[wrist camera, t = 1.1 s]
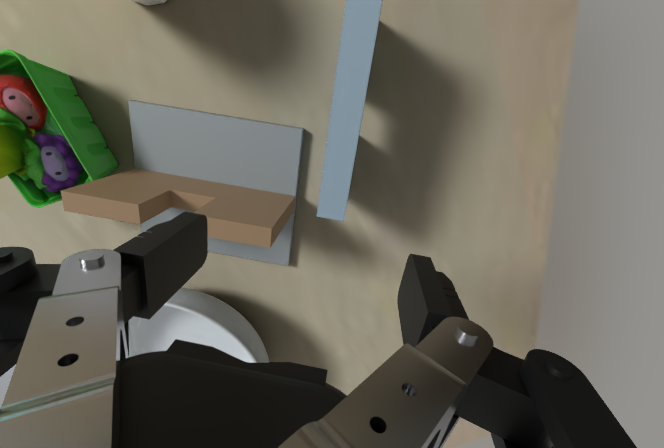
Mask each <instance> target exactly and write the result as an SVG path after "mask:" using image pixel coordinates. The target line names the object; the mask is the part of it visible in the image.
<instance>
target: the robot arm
mask: <svg viewBox="0 0 664 448" xmlns="http://www.w3.org/2000/svg"><path fill="white" fill-rule="evenodd" d="M207 252H208V223H207V217H206V216H205V215H202V214H197V213H192V212H186V211H185V212H183V213H181V214H180V215H178V216H176V217H175V218H173V219H172V220H170V221H166V222H163V223H160V224H156V225H154V226H153V227H151V228H149V229H148V230H146V232H143V233H141V234H139V235H138V237H134V238H133V239H131V240H129V241H128V242H126V243H124V244H123V245H121V246H119V247H118V248H116V249H114V250H109V249H92V250H86V251H82V252H78V253H75V254H73V255H71V256H69V257H67V258H66V259H64V260H63V262H62V263H61V264H36V262H35V258H34V254H33V251H32V250H30V249H28V248H24V247H2V248H0V376H1V375H3V374H4V373H5V372H7V371H8V370H9V369H10V368H12V367H13V366H14V365H15V364H16V367H15V369H14V372H13V375H12V378H11V381H10V384H9V387H8V390H7V393H6V395H5V399H4V401H3V404H2V407H1V409H0V448H442V447H443V445H444V443H445V442H446V440H447V439H448V437H449V435H450V434H451V432H452V430H453V429H454V427H455V426H456V424H457V422H458V421H459V419H460V417H461V418H463V419H465V420H467V421H469V422H471V423H473V424H475V425H477V426H479V427H481V428H483V429H485V430H487V431H489V432H491V436H492V439H493V442H494V445H495V448H637V447H636V446H635V444H634V443H633V442H632V440H631V439H630V437H629V436H628V435H627V434H626V432H625V430H624V429H623V428H622V426H621V425H620V424H619V422H618V421H617V419H616V418H615V417H614V415H613V414H612V412H611V411H610V410H609V408H608V407H607V405H606V404H605V403H604V401H603V400H602V399H601V397H600V396H599V394H598V393H597V391H596V390H595V389H594V387H593V386H592V385H591V383H590V382H589V380H588V379H587V378H586V376H585V375H584V374H583V373H582V372H581V371H580V370H579V369H578V368H577V367H576V366H575V365H573V364H572V363H571V362H569V361H568V360H566V359H564V358H563V357H561V356H559V355H557V354H555V353H552V352H549V351H546V350H540V349H534V350H531V351H529V352H528V354H527V356H526V358H525V359H524V360H523V359H520V358H518V357H515V356H513V355H510V354H508V353H505V352H503V351H501V350H499V349H497V348H495V347H493V340H492V338H491V336H490V335H489V334H488V332H487V331H486V330H484V329H483V328H482V327H481V326H479V325H478V324H476V323H474V322H472V321H470V320H469V319H468V316H467V314H466V312H465V310H464V308H463V305H462V303H461V301H460V299H459V297H458V294H457V292H455V288H454V286H453V283H452V281H451V280H450V279H449V278H448V277H447V276H446V275H445V274H443V273H442V272H437V271H436V270H435V268H434V265H433V263H432V260H431V258H430V257H425V256H420V255H415V254H410V255H409V257H408V259H407V263H406V266H405V270H404V273H403V277H402V280H401V284H400V288H399V292H398V310H399V317H400V324H401V331H402V337H403V344H404V345H403V346H402V347H401V348H400V349H399V350H398V351H397V352H395V353H394V354H393V355H392V356H391V357H390V358H389V359H388V360H387V361H385V362H384V363H383V364H382V365H381V366H380V367H379V368H378V369H377V370H375V371H374V372H373V373H372V374H371V375H370V376H369V377H368V378H367V379H365V380H364V381H363V382H362V383H361V384H360V385H359V386H358V387H357V388H355V389H354V390H353V391H352V392H351V393H350V394H349V395H348V396H346V395H345V394H344V393H342V392H341V391H340V390H338V389H336V388H335V387H333V386H331V385H329V384H327V383H325V382H326V376H327V370H325V369H320V368H315V367H310V366H305V365H301V364H296V363H291V362H267V363H249V362H245V361H242V360H240V359H238V358H236V357H234V356H231V355H229V354H227V353H225V352H223V351H221V350H219V349H217V348H214V347H212V346H207V345H202V344H197V343H192V342H188V341H183V340H178V339H175V341H174V342H173V343H172V344H171V346H170V347H169V348H168V349H167V351H156V352H149V353H143V354H139V355H135V356H132V357H131V350H130V325H129V320H130V319H131V318H132V317H133V316H134V317H139V318H144V319H149V320H150V318H151V317H152V316H153V315H154V314H155V313H156V312H157V311H158V310H159V309H160V308H161V307H162V306H163V305H164V304H165V303H166V302H167V301H168V300H169V299H170V298H171V297H172V296H173V295H174V294H175V293H176V292H177V291H178V290H179V289H180V288H181V287H182V286H183V285H184V284H185V283H186V282H187V281H188V280H189V279H190V278H191V277H192V276H193V275H194V274H195V273H196V272H197V271H198V270H199V269H200V268H201V267H202V266H203V264H204V262H205V260H206V257H207Z"/></svg>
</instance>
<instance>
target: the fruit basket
mask: <svg viewBox="0 0 664 448" xmlns="http://www.w3.org/2000/svg"><path fill="white" fill-rule="evenodd" d="M117 167H118V162H117V161H116V159H115V157H114V155H113V154H112V152H111V151H110V150H109V149H108V148H107V144H106V141H105V139H104V138H103V136H102V134H101V132H100V131H99V129H98V127H97V126H96V125H95V124H94V123H93V120H92V117H91V115H90V113H89V111H88V109H87V108H86V106H85V104H84V102H83V101H82V100H81V99H80V97H78V93H77V90H76V88H75V86H74V84H73V83H72V81H71V79H70V77H69V76H68V75H67V74H65V73H62V72H60V71H57V70H55V69H52V68H50V67H47V66H44V65H42V64H39V63H37V62H34V61H32V60H29V59H27V58H26V57H25V56H23V55H21V54H18V53H16V52H14V51H12V50H8V49H6V50H2V51H0V179H1V178H3V177H5V176H6V175H8V177H9V178H10V179H11V181H12V182H13V184H14V185H15V186H16V188H17V189H18V191H19V192H20V193H21V195H22V196H23V197H24V199H25V200H26V201H27V202H28V203H29V204H30V205H31V206H33V207H38V208H40V207H43V206H46V205H48V204H51V203H54V202H57V201H60V200H62V196H61V190H65V189H68V188H71V187H75V186H78V185H81V184H84V183H88V182H91V181H94V180H98V179H101V178H104V177H105V176H106V175H108V174H109V173H110V172H112V171H113V170H114V169H116V168H117Z"/></svg>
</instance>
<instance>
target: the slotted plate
mask: <svg viewBox="0 0 664 448" xmlns="http://www.w3.org/2000/svg"><path fill="white" fill-rule="evenodd" d="M382 1H383V0H346V4H345V11H344V19H343V26H342V33H341V40H340V48H339V55H338V62H337V70H336V77H335V84H334V92H333V99H332V106H331V114H330V121H329V128H328V136H327V143H326V150H325V158H324V165H323V172H322V180H321V187H320V194H319V202H318V209H317V216H316V217H322V218H328V219H334V220H339V221H344V217H345V212H346V207H347V201H348V196H349V191H350V185H351V180H352V174H353V168H354V162H355V157H356V151H357V145H358V140H359V133H360V127H361V121H362V115H363V110H364V104H365V98H366V93H367V88H368V83H369V77H370V71H371V65H372V60H373V54H374V48H375V43H376V37H377V31H378V25H379V20H380V13H381V7H382Z"/></svg>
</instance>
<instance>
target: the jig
mask: <svg viewBox="0 0 664 448" xmlns="http://www.w3.org/2000/svg"><path fill="white" fill-rule="evenodd" d="M128 105H129V114H130V124H131V134H132V144H133V153H134V163H135V168H134V169H130V170H127V171H124V172H121V173H117V174H114V175H111V176H107V177H104V178H101V179H98V180H94V181H91V182H88V183H84V184H81V185H78V186H75V187H71V188H68V189H65V190H61V196H62V201H63V205H64V210H65V211H68V212H74V213H79V214H85V215H90V216H96V217H101V218H107V219H112V220H118V221H123V222H129V223H134V224H141V231H142V233H143V232H146V230H148V229H149V228H151V227H153V226H154V225H156V224H160V223H163V222H166V221H170V220H172V219H173V218H175V217H176V216H178V215H180V214H181V213H183V212H185V211H186V212H192V213H197V214H202V215H205V216H206V217H207V223H208V251H209V252H214V253H220V254H225V255H231V256H236V257H242V258H247V259H252V260H258V261H263V262H269V263H274V264H280V265H285V266H288V265H289V263H290V256H291V246H292V237H293V228H294V218H295V209H296V200H297V190H298V181H299V172H300V162H301V153H302V144H303V134H304V128H298V127H292V126H286V125H280V124H274V123H268V122H262V121H256V120H250V119H244V118H238V117H232V116H226V115H220V114H213V113H207V112H201V111H195V110H189V109H183V108H177V107H171V106H165V105H159V104H153V103H147V102H141V101H135V100H130V101H128Z"/></svg>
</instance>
